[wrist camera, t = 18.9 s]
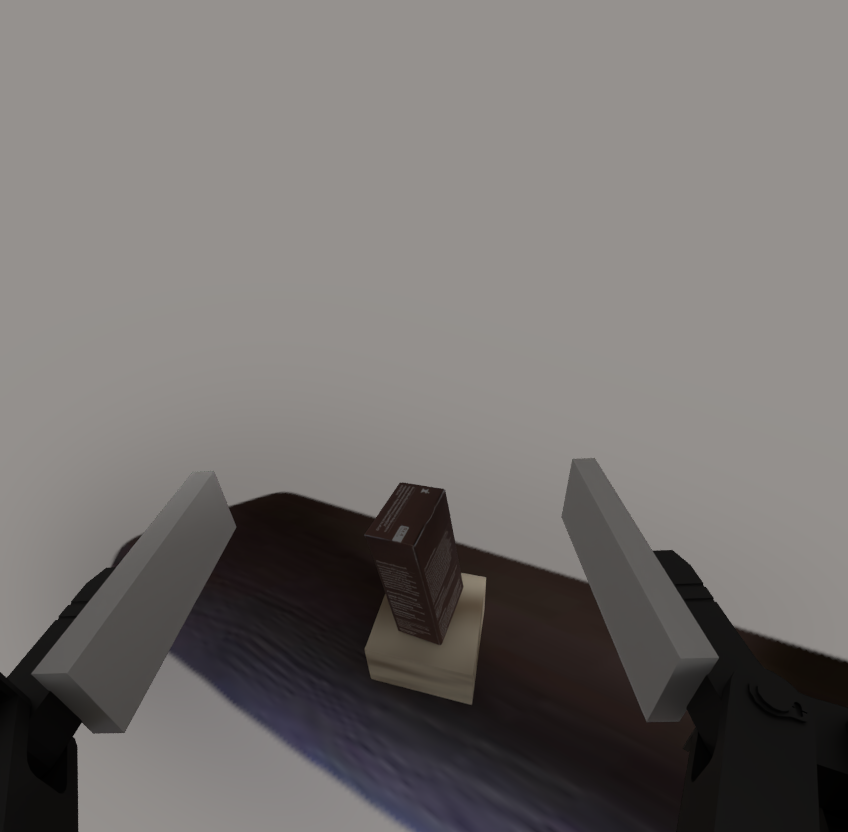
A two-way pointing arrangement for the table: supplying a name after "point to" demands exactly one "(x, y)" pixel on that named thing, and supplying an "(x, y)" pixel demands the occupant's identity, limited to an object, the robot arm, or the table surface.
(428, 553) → the box
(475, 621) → the ash block
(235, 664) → the table surface
